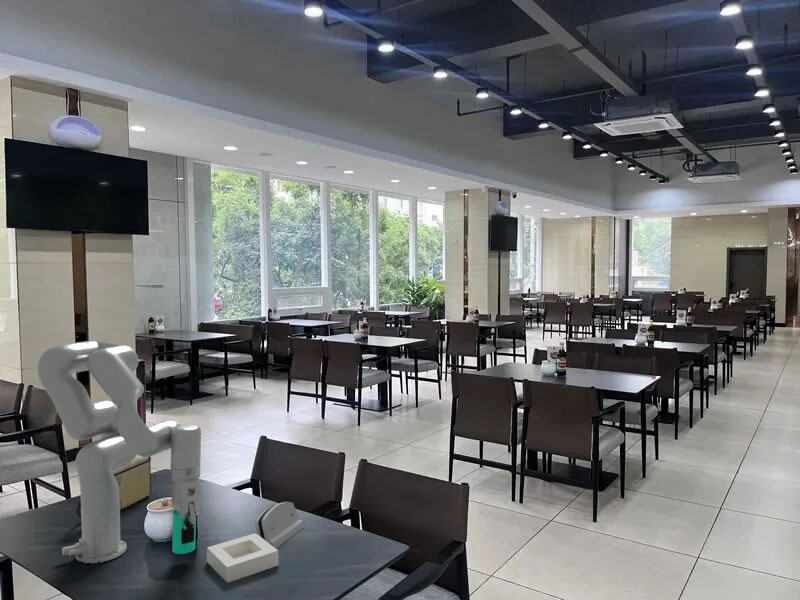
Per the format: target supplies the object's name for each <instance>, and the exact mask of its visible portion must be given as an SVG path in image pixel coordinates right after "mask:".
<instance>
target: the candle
mask: <svg viewBox="0 0 800 600" xmlns="http://www.w3.org/2000/svg"><path fill="white" fill-rule="evenodd" d="M185 516H186V517H187V516H189V514H186V515H185ZM195 516H196V517H197V515H196V514H195ZM187 521H189V519H186V523H187ZM182 529H183V518H181V517H180V516H179V515H178V514H177V513H176V512H175V510H174V509H173V511H172V547H171V548H172V549H171V551H172V552H173V553H174V554H177V555H184V554H185V555H186V554H188V553H191V552H193V551H194V550H195V549H196V540H197V539H196V538H197V537H196V534H197V533H196V532H197V531H196V530H197V521H196V522H195V527H194V541H193V542H190V543H186V544H182V543H181V530H182Z"/></svg>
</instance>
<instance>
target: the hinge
mask: <svg viewBox="0 0 800 600" xmlns="http://www.w3.org/2000/svg"><path fill="white" fill-rule="evenodd" d="M304 528H306V527H305V524H304V521H303V520H302V518H301V519H300V517H299V515H298V512H297V509H296V507H295V504H294V503H293V502H292V501H283V502H280V503H276V504H273V505H272V506H269V507H268V508H267V509H265V510H264V511H262V513H261V514H260V515H259V516H258V518H257V519H256V521H255V529H256V534H258V535H259V536H260V537H261V538H263V539H264V540H265V541H267V542H268V543H269V544H270V545H272V546H273V547H274V548H276V549H277V548H278V547H280V546H281V545H283V544H284V543H285V542H286V541H288V540H289V539H291V538H292V537H294V535H295V534H297V533H299V532H300V531H301V530H303V529H304Z"/></svg>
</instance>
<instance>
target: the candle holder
mask: <svg viewBox="0 0 800 600" xmlns="http://www.w3.org/2000/svg"><path fill="white" fill-rule="evenodd" d="M206 562H207V564H208V565H210V567H212V568H213V570H214V571H215V572H216V573H217V575H219V576H220V577H221V578H222V579H223V580H224V581H225V582H226V583H227V584H228V583H230V582H234V581H237V580H240V579H243V578H245V577H249V576H251V575H255V574H257V573H260V572H263V571H266V569H267V570H269V569H273V568H275V567H278V566H279V550H278V549H277V548H274V547H273V546H272V544H271V545H270V544H269V543H268V542H267V541H265V540H264V539H263V538H261V537H260V536H259V535H258V534H257V532H255V533H252V534H251V533H250V534H248V535H244V536H241V537H238V538H235V539H231V540H228V541H224V542H221V543H218V544H214V545H211V546H208V547H206Z"/></svg>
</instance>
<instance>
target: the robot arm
mask: <svg viewBox="0 0 800 600" xmlns="http://www.w3.org/2000/svg"><path fill="white" fill-rule="evenodd" d="M138 366H139V356H138V354H137V352H136V351H135V350H134V349H133V348H132V347H130V346H128V345H124V344H118V343H112V342H106V341H105V342H104V341H99V340H86V341H78V342H71V343H70V342H69V343H63V344H57V345H55V346H52V347H49V348H48V349H47V350H45V351H44V352H43V353H42V354H41V356H40V358H39V360H38V364H37V375H38V379H39V381H40V383H41V385H42V387H43V388H44V390H45V392H46V393H47V395H48V397H49V398H50V399H51V401H52V403H53V405H54V407H55V411H56V412H57V414H58V416H59V418H60V421H61V422H62V424H63V426H64V428H65V431H66V433H67V434H68V437H70V438H71V439H72V440H74V441H79V442H80V441H85V440H90V439H92V438H94V437H98V436H100V439H97V440H95V441H92V442H90V443H88V444H86V445H84V446H83V447H81V449H80V450H79V451H78V453H77V454H76V458H75V468H76V469H75V470H76V472H77V475H78V479H79V480H78V481H79V488H80V500H81V508H80V515H81V518H80V520H81V538H79V540H78V542H75V544H74V545H69V546H68V545H67V546H64V547H62V548H61V550H62V556H65V555H68V556H69V557H71V556H75V559H77V560H78V561H77V560H76V561H77V562H79V561H81V562H85V563H84V564H87V563H91V564H99V563H98V562H100V563H104V561H105V562H107V561H108V562H109V561H112V560H113V559H116V558H119V557H120V556H122V555H123V554H125V552H126V550H127V546H128V545H127V543H126V541H124V540H121V511H120V500H119V485H118V482H117V480H116V479H115V477H114V475H113V471H114V470H116V469H118V468H120V467H122V466H124V465H126V464H128V463H130V462H132V461H134V460H135V458H136V457H137V455H138V456H140V457H141V458H142V457H152V456H155V455H157V454H160V453H161V452H164V451H166V450H170V470H169V471H170V473H169V474H170V477H169V479H170V480H171V481H172V484H171V485H172V486H171V507H172V509H173V510H175V512H176V513H177V514H178V515H179V516H180V517H181V518H183V529H182V530H181V543H182V544H186V543H190V542H193V541H194V527H195V522H196V523H197V517H198V516H200V515H201V508H202V507H201V488H200V487H201V486H200V477H201V458H202V456H201V453H202V451H201V448H202V430H201V427H200V426H199V425H196V424H193V423H187V424H186V423H180V422H177V421H174V420H162V421H159V422H157V423H154V424H152V425H149V426H147V425H146V424H145V422H144V421H143V420H142V417H140V415H139V413H138V409H137V408H138V407H137V404H138V403H137V402H138V399H139V398H140V397H141V396H142V395H143V393H144V392H145V386H144V384H143V383H142V382H141V381H140V380H139V378H138V377H137V376H136V375H135V373H134V371H136V369H137V368H138ZM87 371H89V373H90V375H91V376H92V377H93V378H94V380H95V381H96V382H97V384H98V385H99V386H100V388H101V389H102V390H103V391H104V393H106V396H107V397H108V398H109V399H110V400H108V399H107V400H105V399H103V400H96V401H93V400H92V399H91V398H90V396H89V393H88V391H87V389H86V388H85V386H84V385H83V384H82V382H80V381H79V380H78V379H76V378H75V377H74V376H72V375H73V374H74V373H75V374H76V373H80V372H81V373H82V372H87ZM186 514H189V516H187V517H186V516H185V515H186ZM195 514H196V516H195ZM186 519H189V521H187V523H186ZM81 562H80V563H81Z"/></svg>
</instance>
